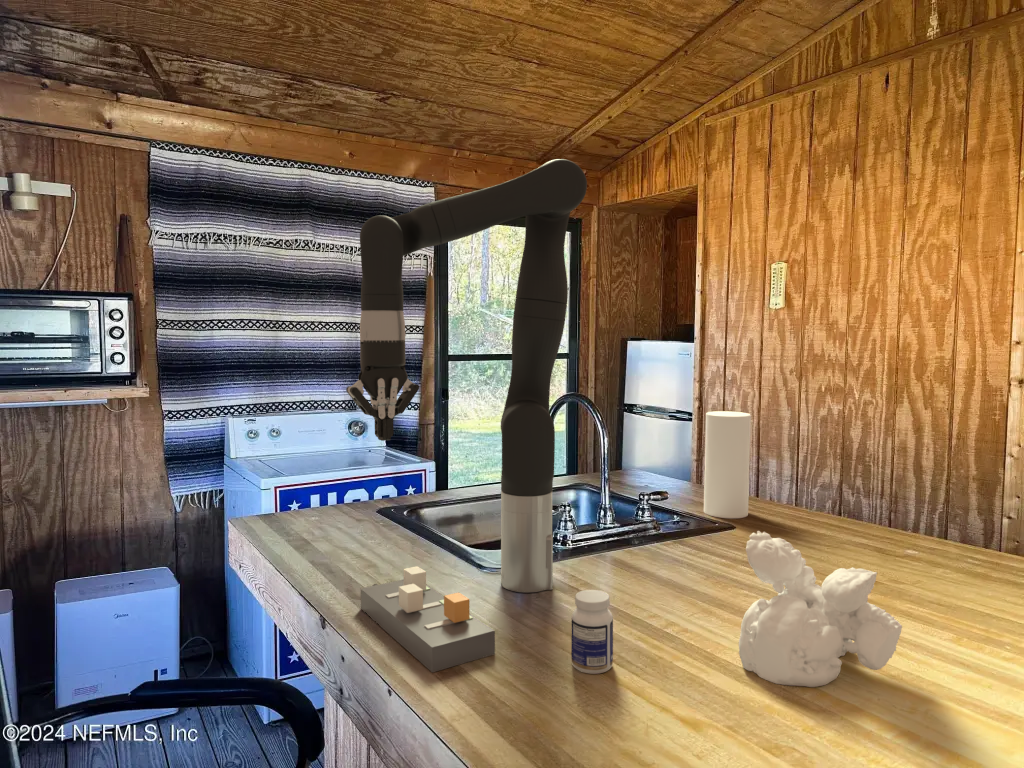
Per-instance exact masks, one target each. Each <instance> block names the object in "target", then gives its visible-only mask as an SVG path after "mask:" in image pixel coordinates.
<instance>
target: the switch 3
mask: <svg viewBox="0 0 1024 768" xmlns="http://www.w3.org/2000/svg"><path fill="white" fill-rule="evenodd" d="M443 596H444V616H446V617H447V618H448V619H450V620H451V621H453V622H454V623H456V622H460V621H464V620H468V619H470V614H471V613H470V598H468V597H467V596H466V595H464V594H462V593H460V592H454V593H450V594H447V595H446V594H445V595H443Z"/></svg>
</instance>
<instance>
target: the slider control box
mask: <svg viewBox="0 0 1024 768" xmlns="http://www.w3.org/2000/svg"><path fill="white" fill-rule="evenodd" d="M400 586H404V578H403V579H400V580H394V581H391V582H384V583H380V584H378V583H374V584H372V585H370V586H366V587H361V588H360V591H359V592H360V610H361V609H362V610H363V611H362V610H361V611H362V612H363V613H365V612H366V613H367V614H368V615H369V616H370V617H371V618H372V619H371V618H370V617H369V616H368V615H367V614H366V613H365V614H366V615H367V616H368V617H369V618H370V619H371V620H372V621H374V622H375V621H376V622H375V623H376V624H377V623H378V624H379V625H380V626H381V627H380V626H379V627H380V628H381V629H383V631H384V632H386V633H387V634H388V635H389V636H390V637H392V638H393V640H394V641H396V642H397V643H399V645H401V646H402V647H403V648H404V649H405V650H406V651H408V652H409V653H410V654H411V656H413V657H414V658H415V659H417V661H419V662H420V663H421V664H422V665H423V666H424V667H425V668H426V669H428V670H429V671H430V672H431V673H435V672H438V671H441V670H446V669H449V668H451V667H455V666H458V665H462V664H465V663H469V662H473V661H476V660H477V661H478V660H480V659H483V658H486V657H489V656H493V655H495V654H496V630H495V629H494V628H492V627H491V626H489V625H488V624H486V623H484V621H481V620H480V619H479V618H477V617H475V616H474V615H473V614H472V613H470V619H468V620H464V621H460V622H456V623H454V622H453V621H451V620H450V619H448V618H447V617H446V616H444V596H445V595H443V594H442V593H440V592H438V591H437V590H436V589H434V588H433V587H432V586H430V585H428V584H427V583H426V590H423V609H422V610H418V611H413V612H409V613H408V612H406V611H405V610H404V609H402V608H401V607H400V606H399V587H400ZM378 624H377V625H378Z"/></svg>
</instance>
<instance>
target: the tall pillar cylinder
mask: <svg viewBox="0 0 1024 768" xmlns="http://www.w3.org/2000/svg"><path fill="white" fill-rule="evenodd" d="M751 423H752V415H751V414H750V413H748V412H741V411H730V410H729V411H727V410H725V411H724V410H719V411H718V410H717V411H714V410H713V411H707V412H706V413H705V438H704V439H705V441H704V442H705V443H704V478H703V479H704V482H703V483H704V484H703V485H704V486H703V513H705V515H708V516H711V517H715V518H722V519H742V518H746V517H748V515H749V498H750V496H749V494H750V492H749V491H750V466H751V463H750V462H751V460H750V459H751V433H752V432H751V427H752V425H751Z"/></svg>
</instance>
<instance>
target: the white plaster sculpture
mask: <svg viewBox="0 0 1024 768" xmlns="http://www.w3.org/2000/svg"><path fill="white" fill-rule="evenodd" d="M745 552H746V556H747V561H748V564H749V566H750V567H751V568H752V570H753V573H754V574H755V575H756V577H757V578H758V579H759V580H760V582H762V583H765V584H769V585H771V586H772V588H773V590H774V591H775V592H776V593H777V595H775V596H773V597H771V598H770V599H769V600H768V599H765V598H759V599H758V600H757V599H756V601H754V602H753V603H751V605H750V607H749V608H747V610H746V611H745V613H744V615H743V618H742V621H741V624H740V635H739V640H738V655H739V658H740V660H741V664H742V667H743V669H744V670H746V671H748V672H753V673H754V674H757V676H758V677H759V678H761V679H763V680H765V681H768V682H770V683H773V684H776V685H782V686H798V687H806V688H807V687H808V688H817V687H821V686H825V685H828V684H829V683H831V682H832V681H834V680H836V679H837V678H838V676H839V675H840V673H841V669H842V668H841V666H842V664H843V662H842V660H841V659H840V657H843V656H845V655H846V653H847V652H849V653H851V654H856V656H857V658H858V662H859V663H860V664H861V665H862V666H864V667H865V668H867V669H869V670H873V671H879V670H881V669H882V668H883V667H885V666H886V665H887V663H888V662H889V660H890V659H892V657H893V655H894V653H895V652H896V651H897V644H898V641H899V640H900V637H901V636H900V635H901V633H902V630H903V625H902V624H901V623H900V622H899V621H898V620H896V619H895V616H892V614H890V613H889V612H886V609H882V608H881V607H879V606H877V605H875V604H872V603H870V602H869V600H868V599H869V598H868V596H869V595H870V594H871V593H872V590H873V589H874V585H875V583H876V581H877V574H878V572H877V571H875V572H874V571H872V570H868V569H865V568H855V567H853V566H852V567H850V568H844V567H840V568H838V569H834V571H833V572H832V573H830V574H829V575H827V576H826V577H825V579H824V580H823V582H822V584H821V585H820V584H817V583H816V581H817V577H816V576H815V572H814V571H815V570H814V569H813V568H812V566H808V565H807V564H806V563H807V561H806V558H803V557H802V553H801V551H800V550H799V549H795V547H793V544H792V543H791V542H788V541H787V540H786V539H783V538H781V537H771V534H769V533H767V532H766V531H763V532H761V531H760V530H757V531H756V532H752V533H751V534H750V535H749V540H747V541H746V547H745Z"/></svg>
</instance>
